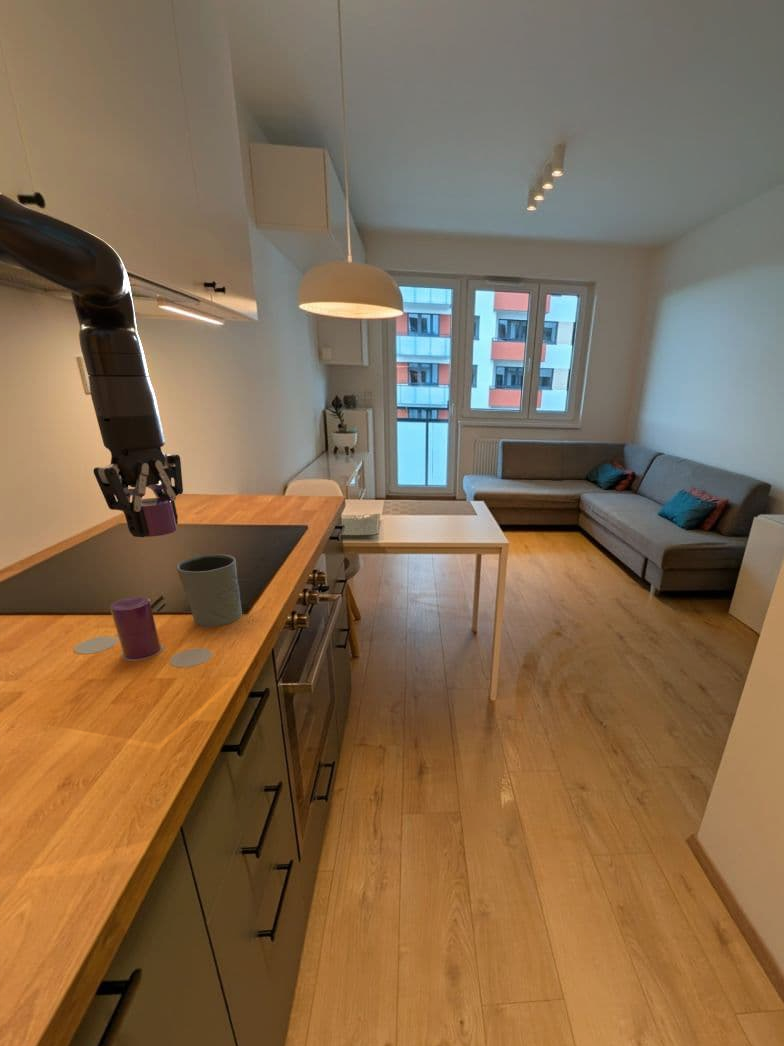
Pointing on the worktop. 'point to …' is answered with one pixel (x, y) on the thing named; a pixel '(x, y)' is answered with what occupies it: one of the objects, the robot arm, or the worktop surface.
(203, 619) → the grey cylindrical pot
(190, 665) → the mat
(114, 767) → the worktop surface
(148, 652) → the small purple cup
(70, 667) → the worktop surface
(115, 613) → the purple cylinder
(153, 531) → the purple canister
